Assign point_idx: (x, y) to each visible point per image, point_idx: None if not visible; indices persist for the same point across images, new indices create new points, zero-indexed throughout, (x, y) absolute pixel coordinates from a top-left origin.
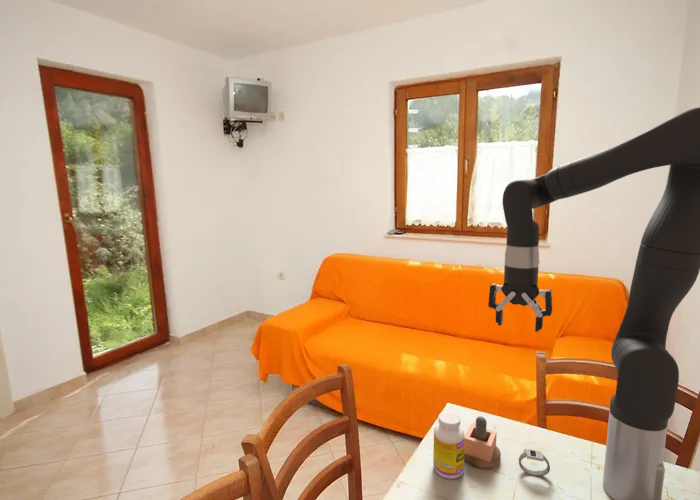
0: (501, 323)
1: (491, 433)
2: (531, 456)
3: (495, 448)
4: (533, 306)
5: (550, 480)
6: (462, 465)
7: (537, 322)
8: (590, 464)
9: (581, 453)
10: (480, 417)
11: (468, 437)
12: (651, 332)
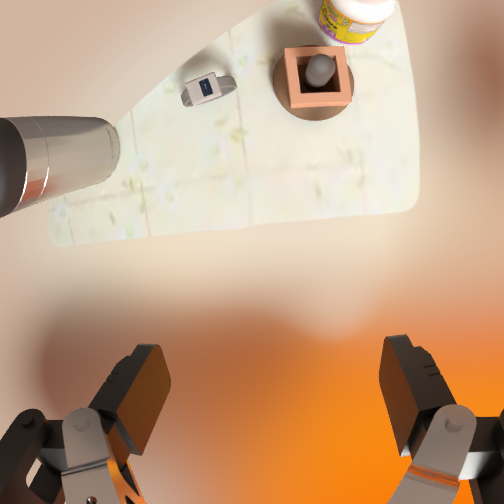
0: (385, 357)
1: (299, 91)
2: (206, 76)
3: (289, 102)
4: (82, 483)
5: None
6: (320, 12)
7: (120, 382)
8: (141, 184)
9: (158, 206)
10: (325, 62)
11: (336, 51)
12: None
